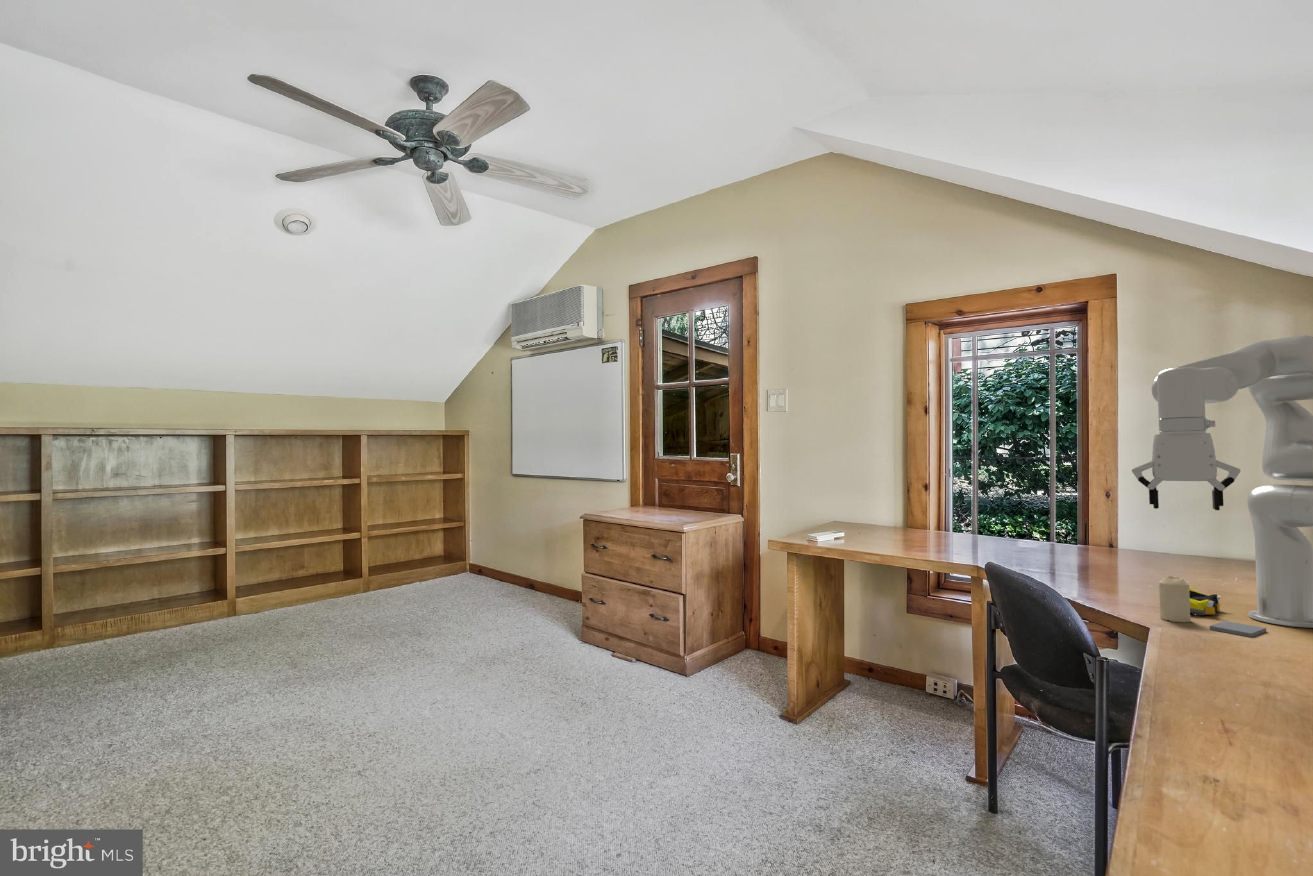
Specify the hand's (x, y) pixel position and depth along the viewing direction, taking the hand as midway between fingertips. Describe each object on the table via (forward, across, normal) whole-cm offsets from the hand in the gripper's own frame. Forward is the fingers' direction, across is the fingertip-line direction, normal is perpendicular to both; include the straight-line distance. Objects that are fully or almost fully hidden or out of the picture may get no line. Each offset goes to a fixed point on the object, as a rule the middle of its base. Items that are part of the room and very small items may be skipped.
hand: (1185, 508), depth 130 cm
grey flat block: (+28, -9, -17) cm, 34 cm away
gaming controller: (+28, -3, -34) cm, 45 cm away
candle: (+28, +1, -21) cm, 35 cm away
